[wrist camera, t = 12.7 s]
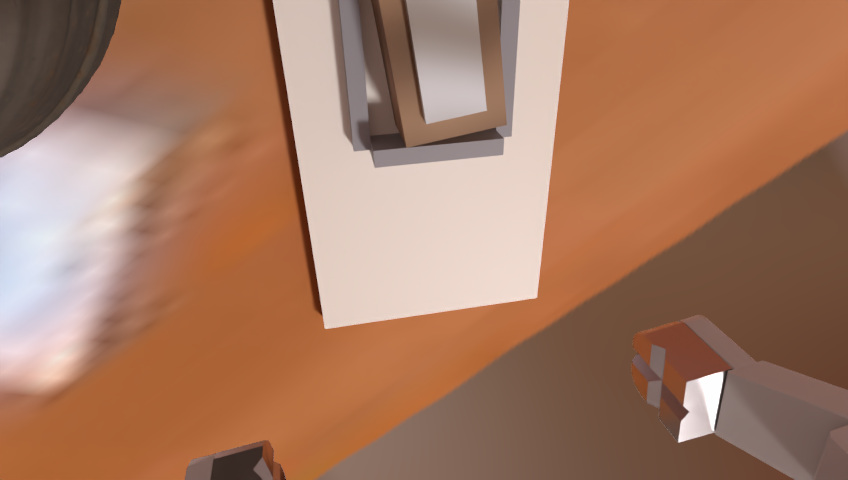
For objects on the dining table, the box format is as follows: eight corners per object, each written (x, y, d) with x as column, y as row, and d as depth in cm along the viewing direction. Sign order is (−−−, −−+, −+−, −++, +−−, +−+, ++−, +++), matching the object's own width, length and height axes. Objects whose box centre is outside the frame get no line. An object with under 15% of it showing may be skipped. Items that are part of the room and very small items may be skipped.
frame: (484, 103, 31) (509, 127, 27) (395, 123, 31) (408, 151, 27) (465, -93, 26) (493, -96, 22) (357, -72, 25) (366, -72, 22)
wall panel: (531, 288, 41) (550, 318, 38) (324, 318, 38) (326, 352, 35) (581, -211, 25) (620, -230, 22) (240, -215, 23) (230, -238, 20)
